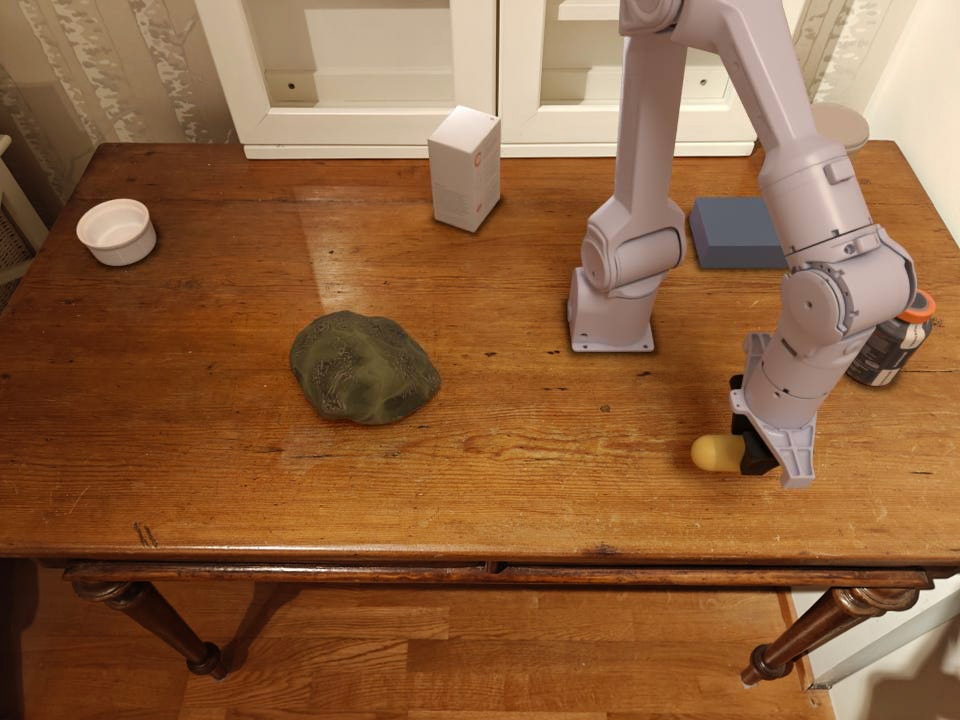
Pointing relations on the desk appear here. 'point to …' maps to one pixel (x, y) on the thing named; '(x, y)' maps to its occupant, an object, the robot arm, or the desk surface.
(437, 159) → the small box
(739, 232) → the block
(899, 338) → the pill bottle
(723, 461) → the yellow capsule pill
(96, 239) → the ramekin
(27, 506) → the desk surface
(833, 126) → the coffee cup
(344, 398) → the decorative rock
